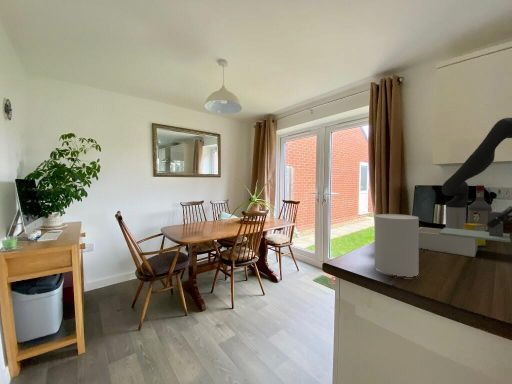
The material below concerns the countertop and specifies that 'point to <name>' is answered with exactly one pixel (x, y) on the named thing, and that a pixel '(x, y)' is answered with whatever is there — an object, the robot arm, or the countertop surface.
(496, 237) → the carton lid
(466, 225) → the supplement box
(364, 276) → the countertop surface
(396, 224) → the canister
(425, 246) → the carton
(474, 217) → the liquor
